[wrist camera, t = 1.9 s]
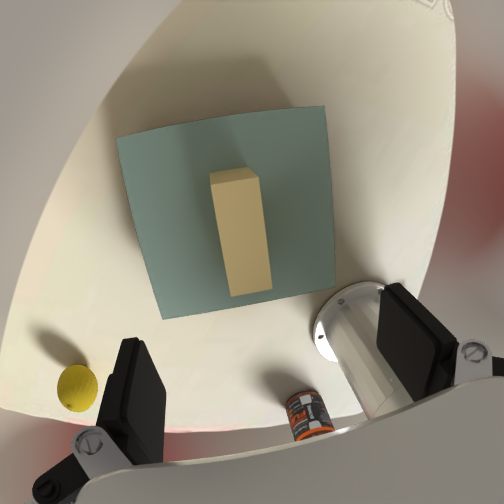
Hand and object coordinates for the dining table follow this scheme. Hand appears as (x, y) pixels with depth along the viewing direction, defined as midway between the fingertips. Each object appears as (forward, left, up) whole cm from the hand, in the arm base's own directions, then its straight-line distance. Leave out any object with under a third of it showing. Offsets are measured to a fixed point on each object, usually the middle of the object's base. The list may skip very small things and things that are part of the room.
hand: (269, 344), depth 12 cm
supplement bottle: (-6, +33, -22) cm, 40 cm away
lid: (0, 0, -16) cm, 16 cm away
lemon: (+24, +19, -22) cm, 38 cm away
